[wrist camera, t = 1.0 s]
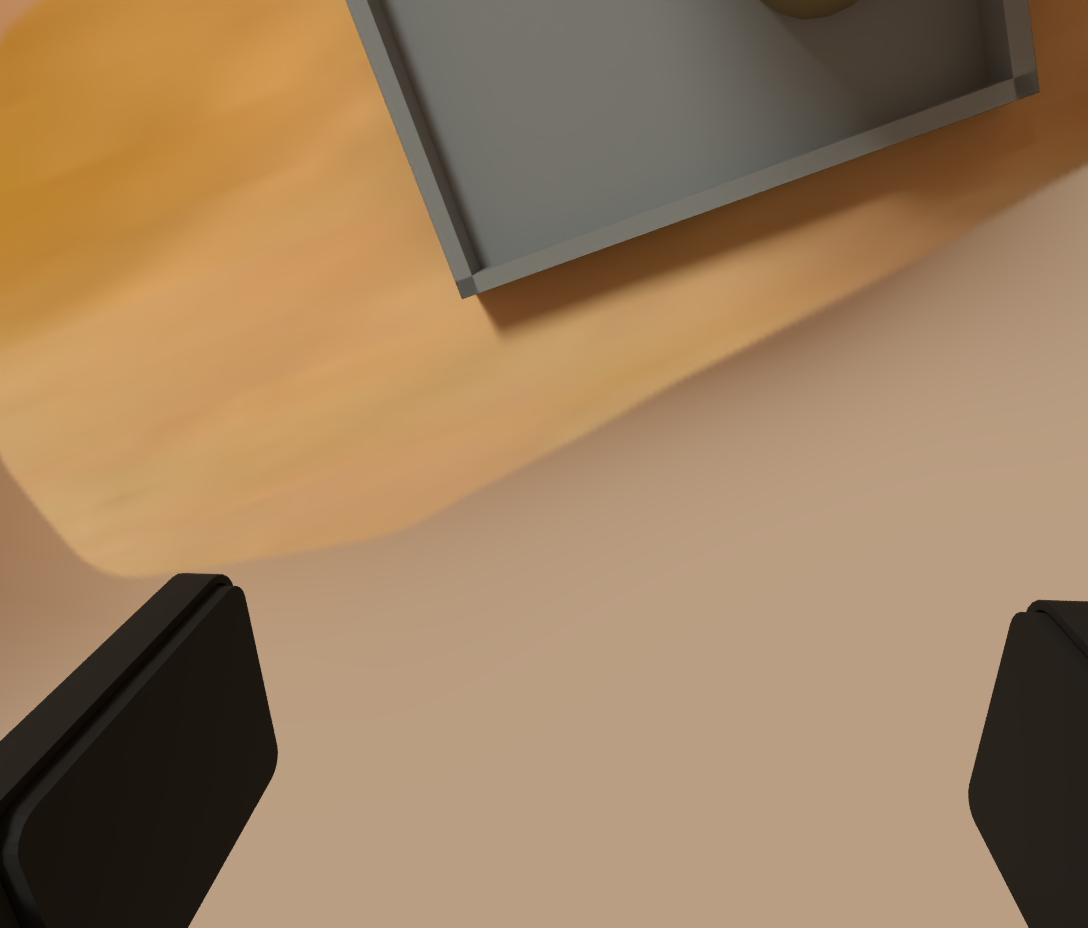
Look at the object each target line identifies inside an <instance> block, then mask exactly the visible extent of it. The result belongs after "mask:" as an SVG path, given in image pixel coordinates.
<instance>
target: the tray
mask: <svg viewBox="0 0 1088 928" xmlns="http://www.w3.org/2000/svg"><path fill="white" fill-rule="evenodd" d="M346 3H347V5H348V8H349V11H350V13H351V16H352V18H353V21H354V23H355V26H356V29H357V31H358V34H359V36H360V39H361V41H362V44H363V46H364V49H365V52H366V54H367V57H368V59H369V62H370V64H371V67H372V70H373V72H374V75H375V77H376V80H377V82H378V85H379V87H380V90H381V93H382V95H383V98H384V100H385V103H386V105H387V108H388V111H389V113H390V116H391V118H392V121H393V123H394V126H395V128H396V131H397V134H398V136H399V139H400V141H401V144H402V146H403V149H404V152H405V154H406V157H407V159H408V162H409V164H410V167H411V169H412V172H413V175H414V177H415V180H416V182H417V185H418V187H419V190H420V193H421V195H422V198H423V200H424V203H425V205H426V208H427V210H428V213H429V216H430V218H431V221H432V223H433V226H434V228H435V231H436V234H437V236H438V239H439V241H440V244H441V246H442V249H443V252H444V254H445V257H446V259H447V262H448V264H449V267H450V269H451V272H452V275H453V277H454V280H455V282H456V285H457V287H458V290H459V293H460V295H461V298H462V299H464V298H467V297H470V296H472V295H475V294H478V293H481V292H484V291H486V290H489V289H492V288H495V287H497V286H500V285H503V284H506V283H509V282H511V281H514V280H517V279H520V278H523V277H525V276H528V275H531V274H534V273H537V272H539V271H542V270H545V269H548V268H550V267H553V266H556V265H559V264H562V263H564V262H567V261H570V260H573V259H576V258H578V257H581V256H584V255H587V254H589V253H592V252H595V251H598V250H601V249H603V248H606V247H609V246H612V245H615V244H617V243H620V242H623V241H626V240H629V239H631V238H634V237H637V236H640V235H642V234H645V233H648V232H651V231H654V230H656V229H659V228H662V227H665V226H668V225H670V224H673V223H676V222H679V221H681V220H684V219H687V218H690V217H693V216H695V215H698V214H701V213H704V212H707V211H709V210H712V209H715V208H718V207H720V206H723V205H726V204H729V203H732V202H734V201H737V200H740V199H743V198H746V197H748V196H751V195H754V194H757V193H760V192H762V191H765V190H768V189H771V188H773V187H776V186H779V185H782V184H785V183H787V182H790V181H793V180H796V179H799V178H801V177H804V176H807V175H810V174H812V173H815V172H818V171H821V170H824V169H826V168H829V167H832V166H835V165H838V164H840V163H843V162H846V161H849V160H852V159H854V158H857V157H860V156H863V155H865V154H868V153H871V152H874V151H877V150H879V149H882V148H885V147H888V146H891V145H893V144H896V143H899V142H902V141H904V140H907V139H910V138H913V137H916V136H918V135H921V134H924V133H927V132H930V131H932V130H935V129H938V128H941V127H944V126H946V125H949V124H952V123H955V122H957V121H960V120H963V119H966V118H969V117H971V116H974V115H977V114H980V113H983V112H985V111H988V110H991V109H994V108H996V107H999V106H1002V105H1005V104H1008V103H1010V102H1013V101H1016V100H1019V99H1022V98H1024V97H1027V96H1030V95H1033V94H1035V93H1038V92H1039V85H1038V77H1037V69H1036V61H1035V53H1034V45H1033V37H1032V29H1031V21H1030V13H1029V5H1028V0H858V1H857V2H856V3H855V4H854V5H852V6H850V7H848V8H845V9H843V10H841V11H839V12H837V13H835V14H833V15H831V16H828V17H821V18H813V19H805V20H804V19H799V18H795V17H790V16H786V15H782V14H780V13H778V12H777V11H775V10H774V9H772V8H771V7H769V6H768V5H766V4H765V3H763V2H762V1H761V0H346Z"/></svg>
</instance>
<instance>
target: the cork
mask: <svg viewBox="0 0 1088 928" xmlns="http://www.w3.org/2000/svg"><path fill="white" fill-rule="evenodd" d="M761 1H762V2H763V3H765V4H766V5H768V6H769V7H771V8H772V9H774V10H775V11H777V12H778V13H780V14H782V15H786V16H790V17H795V18H799V19H804V20H805V19H813V18H821V17H828V16H831V15H833V14H835V13H837V12H839V11H841V10H843V9H845V8H848V7H850V6H852V5H854V4H855V3H856V2H857V1H858V0H761Z"/></svg>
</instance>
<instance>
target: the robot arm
mask: <svg viewBox="0 0 1088 928" xmlns="http://www.w3.org/2000/svg"><path fill="white" fill-rule="evenodd" d="M277 755H278V749H277V743H276V738H275V734H274V729H273V724H272V719H271V715H270V710H269V706H268V701H267V696H266V691H265V687H264V682H263V678H262V673H261V668H260V664H259V659H258V654H257V650H256V645H255V640H254V636H253V631H252V626H251V622H250V617H249V612H248V607H247V603H246V599H245V595H244V592H243V591H242V589H241V588H240V587H238V586H233V584H232V582H231V580H230V579H229V578H228V577H227V576H225V575H223V574H195V573H181V574H177V575H175V576H174V577H172V578H171V579H170V580H169V581H168V582H167V583H166V584H165V585H164V586H163V587H162V588H161V589H160V590H159V591H158V592H157V593H156V594H154V595H153V596H152V597H151V598H150V599H149V600H148V601H147V602H146V603H145V604H144V605H143V606H142V607H141V608H140V609H139V610H138V611H137V612H135V613H134V614H133V615H132V616H131V617H130V618H129V619H128V620H127V621H126V622H125V623H124V624H123V625H122V626H121V627H120V628H119V629H118V630H117V631H116V632H115V633H113V634H112V635H111V636H110V637H109V638H108V639H107V640H106V641H105V642H104V643H103V644H102V645H101V646H100V647H99V648H98V649H97V650H96V651H95V652H94V653H92V654H91V655H90V656H89V657H88V658H87V659H86V660H85V661H84V662H83V663H82V664H81V665H80V666H79V667H78V668H77V669H76V670H75V671H73V672H72V673H71V674H70V675H69V676H68V677H67V678H66V679H65V680H64V681H63V682H62V683H61V684H60V685H59V686H58V687H57V688H56V689H55V690H54V691H52V693H50V694H49V695H48V696H47V697H46V698H45V699H44V700H43V701H42V702H41V703H40V704H39V705H38V706H37V707H36V708H35V709H34V710H33V711H31V712H30V713H29V714H28V715H27V716H26V717H25V718H24V719H23V720H22V721H21V722H20V723H19V724H18V725H17V726H16V727H15V728H14V729H13V730H12V731H10V732H9V733H8V734H7V735H6V736H5V737H4V738H3V739H2V740H1V741H0V928H188V926H189V925H190V923H191V921H192V919H193V918H194V916H195V914H196V912H197V911H198V909H199V907H200V905H201V903H202V902H203V900H204V898H205V896H206V895H207V893H208V891H209V889H210V887H211V886H212V884H213V882H214V880H215V879H216V877H217V875H218V873H219V871H220V869H221V868H222V866H223V864H224V862H225V861H226V859H227V857H228V855H229V853H230V852H231V850H232V848H233V846H234V845H235V843H236V841H237V839H238V838H239V836H240V834H241V832H242V830H243V829H244V827H245V825H246V823H247V822H248V820H249V818H250V816H251V814H252V813H253V811H254V809H255V807H256V806H257V804H258V802H259V800H260V798H261V797H262V795H263V793H264V791H265V789H266V788H267V786H268V784H269V782H270V780H271V779H272V776H273V774H274V772H275V768H276V764H277V757H278V756H277ZM968 793H969V794H968V795H969V797H968V798H969V806H970V810H971V813H972V817H973V819H974V821H975V824H976V826H977V827H978V829H979V831H980V833H981V835H982V837H983V839H984V841H985V843H986V845H987V847H988V849H989V851H990V853H991V855H992V857H993V859H994V861H995V862H996V865H997V867H998V869H999V871H1000V872H1001V874H1002V876H1003V878H1004V880H1005V882H1006V884H1007V886H1008V888H1009V890H1010V892H1011V894H1012V896H1013V898H1014V900H1015V902H1016V904H1017V906H1018V908H1019V910H1020V912H1021V914H1022V916H1023V917H1024V919H1025V921H1026V923H1027V925H1028V927H1029V928H1088V602H1087V601H1055V600H1037V601H1035V602H1032V604H1031V605H1030V606H1029V607H1028V609H1027V611H1026V612H1019V613H1017V614H1015V616H1014V617H1013V618H1012V621H1011V623H1010V627H1009V631H1008V635H1007V639H1006V643H1005V646H1004V650H1003V654H1002V658H1001V662H1000V666H999V670H998V674H997V678H996V682H995V686H994V690H993V693H992V698H991V701H990V705H989V710H988V713H987V717H986V721H985V725H984V729H983V733H982V737H981V741H980V744H979V749H978V753H977V757H976V760H975V765H974V768H973V772H972V776H971V780H970V784H969V790H968Z"/></svg>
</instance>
